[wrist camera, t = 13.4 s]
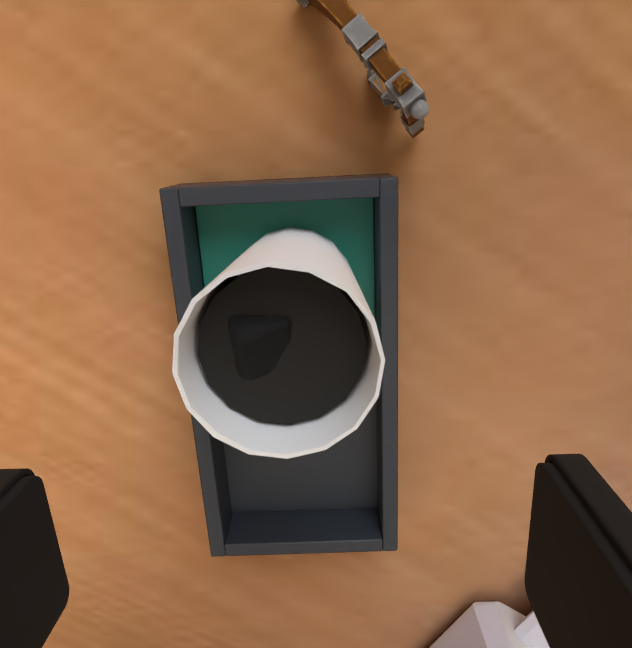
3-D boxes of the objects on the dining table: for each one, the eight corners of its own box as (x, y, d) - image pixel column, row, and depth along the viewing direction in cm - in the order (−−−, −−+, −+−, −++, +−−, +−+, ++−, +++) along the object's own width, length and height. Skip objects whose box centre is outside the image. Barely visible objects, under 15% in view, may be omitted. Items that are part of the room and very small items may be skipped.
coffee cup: (235, 352, 27) (188, 464, 17) (218, 222, 25) (154, 269, 15) (364, 344, 26) (388, 453, 17) (358, 212, 24) (382, 253, 15)
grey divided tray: (389, 173, 25) (398, 176, 22) (390, 511, 31) (397, 551, 28) (178, 183, 25) (158, 188, 22) (221, 517, 31) (211, 557, 28)
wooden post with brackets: (413, 162, 23) (403, 123, 19) (313, 35, 25) (283, -28, 20) (446, 135, 23) (444, 90, 19) (343, 8, 24) (319, -62, 20)
